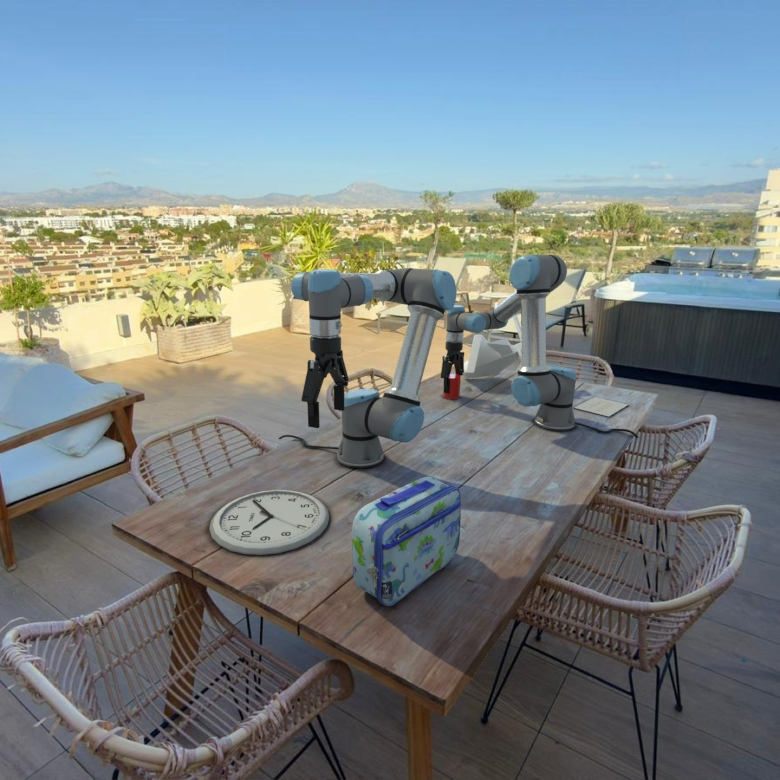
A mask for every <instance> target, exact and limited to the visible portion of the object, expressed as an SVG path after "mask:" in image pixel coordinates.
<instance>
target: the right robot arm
mask: <svg viewBox="0 0 780 780" xmlns="http://www.w3.org/2000/svg"><path fill="white" fill-rule="evenodd" d="M567 274H568V267H567V264H566V262H565V261H564V260H563V259H562V257H560V256H558V255H555V254H528V255H527V254H526V255H522V256H519V257H518V258H516V260H515V261H514V262H513V263H512V265H511V267H510V270H509V274H508V275H509V276H508V277H509V283H510V285H511V286H512V288H514V289H515V291H514V292H513V293H512V294H510V295H509V296H508V297H506V298H505V299H504V300H503V301H502V302H501V303H499V304H497V306H496V307H494V308H493V309H491V310H490V311H484V312H466V308H465V306H464V305H460V304H454V306H453V307H452V308H451V309H450V310H446V329H445V330H446V331H445V334H446V335H445V340H446V341H445V347H444V348H445V350H446V355H442V357H441V358H442V362H441V363H442V364H441V370H440V371H441V372H440V378H441V379H443V392H444V393H448V394H449V391H450V379H449V376H450V374H452V373H451V372H452V369H453V367H454V371H455V374H457V375H460V376H461V377H462V376H463V373H464V362H465V352H464V351H463V350H464V349H463V348H464V342H463V341H464V333H465V331H466V332H469V333H472V334H481V333H482V332H483V331H487V330H489V331H490V330H499V329H503V328H505V327H506V326H507V325H508V323H509V320H510V319H513V316H514V315H516V314H519V313H520V319H521V320H520V326H521V341H520V342H522V364H521V365H520V366H519V367H518V368H517V376H515V378H513V380H512V382H511V385H510V388H511V394H512V397H513V398H514V400H516V402H517V403H518V404H519V405H521V406H522V407H537V406H539V407H538V410H537V411H536V413H535V417H534V424H535V425H536V426H537V427H539V428H542V429H544V430H549V431H556V432H567V431H572V430H574V429H575V428H576V425H577V426H580V427H583V428H586V429H590V430H593V431H596V432H598V433H601V434H610V433H611V432H625V433H629V434H631V435H633V436H634V437H635V438H636V439H639V438H640V437H639V436H638V434H637V433H635V432H634V431H632V430H630V429H627V428H610V429H609V430H602V429H599V428H597V427H594V426H590V425H588V424H584V423H581V422H577V421H576V418H575V417H576V416H575V413H574V407H573V405H574V398H575V390H576V383H577V372H576V371H575V369H572V368H571V367H570V368H569V367H566V366H561V365H554V364H553V365H552V364H547V300H546V299H547V297H548V296H549V295H550V294H551V293H552V292H553V291H555V290H556V289H558V288H559V287H560V286H561V285H562V284H563V283H564V282H565V281H566V278H567V276H568V275H567Z"/></svg>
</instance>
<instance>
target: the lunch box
mask: <svg viewBox="0 0 780 780" xmlns="http://www.w3.org/2000/svg"><path fill="white" fill-rule="evenodd" d="M461 499H462V497H461V491H460V489H459V488H458V487H457V486H455V485H450V486H449V485H447V484H445V483H444V482H442V481H440V480H438V479H436V478H434V477H432V476H424V477H421V478H419V479H416V480H414V481H412V482H410V483H407V484H405V485H404V486H401V487H399V488H397V489H395V490H392V491H391V492H390V493H386V494H385V495H383V496H381V497H379V498H377V499H376V500H373V501H371V502H369V503H367V504H365V505H364V506H362V507H361V508H360V509H359V510H358V512H357V513H356V514H355V517H354V518H353V521H352V527H351V550H352V576H353V581H354V584H355V587H356V588H358V589H360V590H362V591H364V592H366V593H368V594H370V596H372V597H374V598H375V599H377V601H378V603H379V604H382V605H383V606H385V607H393V606H394V605H396V604H397V603H399V602H400V601H402V599H404V598H405V597H406V596H407V595H409V594H410V593H411V592H413V591H414V590H415V589H416V588H418V587H419V586H420V585H422V584H423V583H424V582H425V581H427V580H428V579H429V578H430V577H432V575H434V574H435V573H437V572H439V571H441V570H442V569H443V568H445V567H446V566H448V565H449V564H450V562H452V560H453V559H454V557H455V555H456V553H457V551H458V549H459V544H460V537H461V519H462V515H461V513H462V512H461V510H462V507H461V505H462V504H461V503H462V502H461Z"/></svg>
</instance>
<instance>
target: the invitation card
mask: <svg viewBox="0 0 780 780" xmlns="http://www.w3.org/2000/svg"><path fill="white" fill-rule="evenodd" d="M628 406H629V404H627V403H623V402H618V401H614V400H609V399H605V398H601V397H596V396H593V397H592V398H590V399H588V400H586V401H584V402H582V403H580V404H578V405H575V406H574V407H573V409H575V410H581V411H584V412H587V413H593V414H596V415H600V416H604V417H608V418H609V417H611V416H613V415H614V414H616V413H617V412H619V411H621V410H623V409H624V408H626V407H628Z"/></svg>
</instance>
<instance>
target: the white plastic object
mask: <svg viewBox="0 0 780 780" xmlns="http://www.w3.org/2000/svg"><path fill="white" fill-rule="evenodd" d="M517 314H518V313H517ZM517 314H516V315H514V316H513V317H512V319H513V321H514V325H515V329H516V330H517V334H518V337H519V340H520V342H518V343H516V344H511V342H510V341H509V340H508V338H501V339H497V340H494V341H488V340H487V338H485V336H484V335H483V334H473V339H472V342H471V343H472V344H471V348H470V353H469V357H468V360H466V361H464V373H463V375H462V377H463V378H464V379H473V378H474V379H475V378H482V377H483V378H484V377H490V376H491V378H494V377H497V376H499V375H501V372H503V371H504V370H505V369H507V368H509V366H511V365H512V364H513V363H515V362H516V361H518V360H520V363H521V365H522V342H521V322H520V321H519V318H518V315H517Z"/></svg>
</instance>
